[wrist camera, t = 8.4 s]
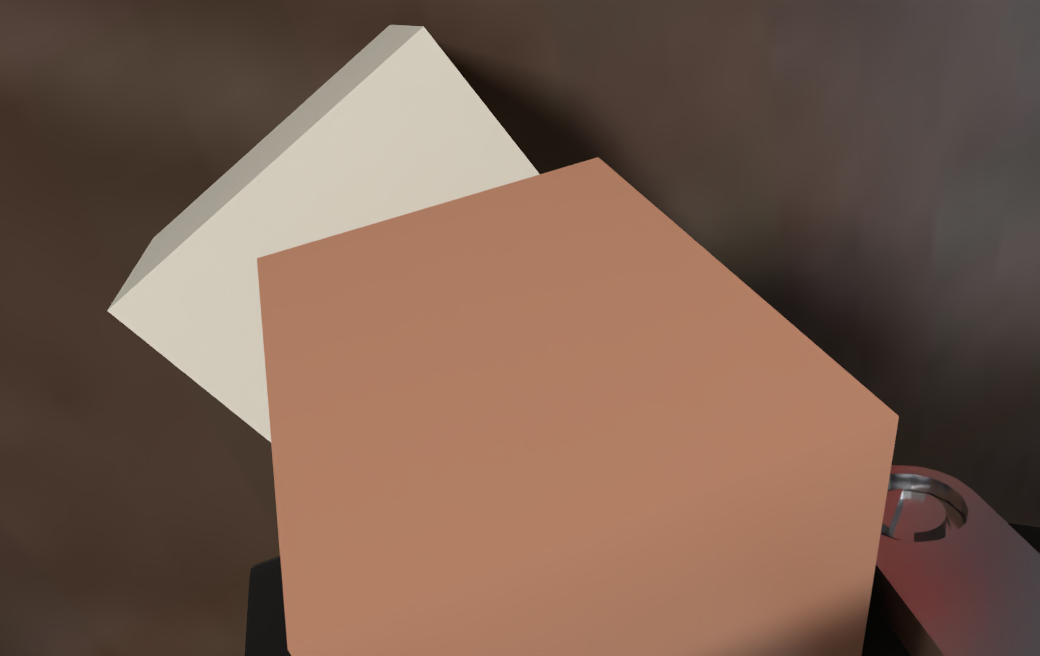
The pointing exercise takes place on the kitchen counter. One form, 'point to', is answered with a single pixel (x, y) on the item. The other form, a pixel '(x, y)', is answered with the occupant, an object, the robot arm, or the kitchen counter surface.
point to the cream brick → (312, 204)
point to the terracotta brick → (560, 440)
